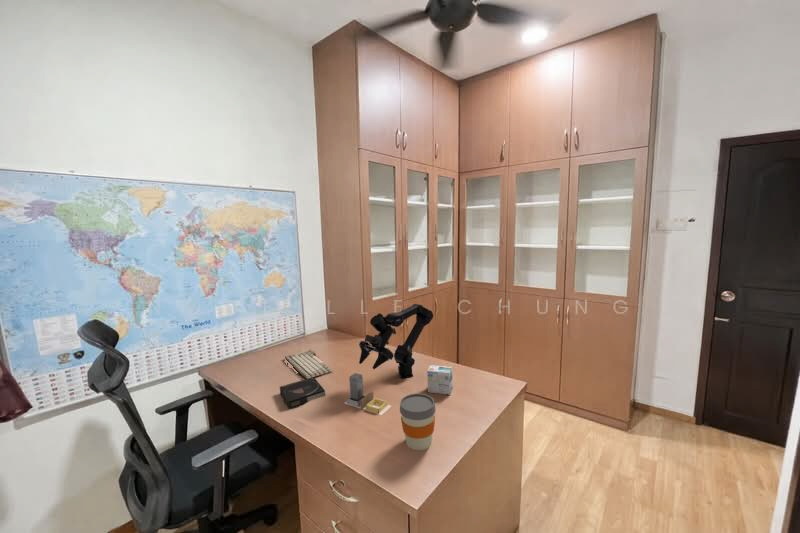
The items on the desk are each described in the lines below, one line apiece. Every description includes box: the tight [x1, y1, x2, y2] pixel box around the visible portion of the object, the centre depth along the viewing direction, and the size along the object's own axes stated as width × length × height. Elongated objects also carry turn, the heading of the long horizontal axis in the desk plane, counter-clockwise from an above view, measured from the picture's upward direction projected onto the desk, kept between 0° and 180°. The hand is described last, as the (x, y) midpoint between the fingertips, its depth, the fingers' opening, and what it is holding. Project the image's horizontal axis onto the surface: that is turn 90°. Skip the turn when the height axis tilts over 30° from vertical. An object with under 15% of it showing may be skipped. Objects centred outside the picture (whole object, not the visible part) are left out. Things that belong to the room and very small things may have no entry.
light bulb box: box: [426, 364, 454, 396], centre depth 149 cm, size 11×7×11 cm, turn 71°
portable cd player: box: [279, 377, 326, 410], centre depth 151 cm, size 16×17×4 cm
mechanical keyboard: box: [284, 348, 333, 380], centre depth 185 cm, size 38×19×3 cm, turn 38°
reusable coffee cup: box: [399, 393, 436, 451], centre depth 114 cm, size 13×12×15 cm
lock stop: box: [348, 372, 365, 402], centre depth 140 cm, size 4×4×12 cm
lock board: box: [344, 391, 392, 416], centre depth 139 cm, size 20×8×5 cm, turn 59°
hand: (366, 366), depth 146 cm, fingers open, 9 cm apart
